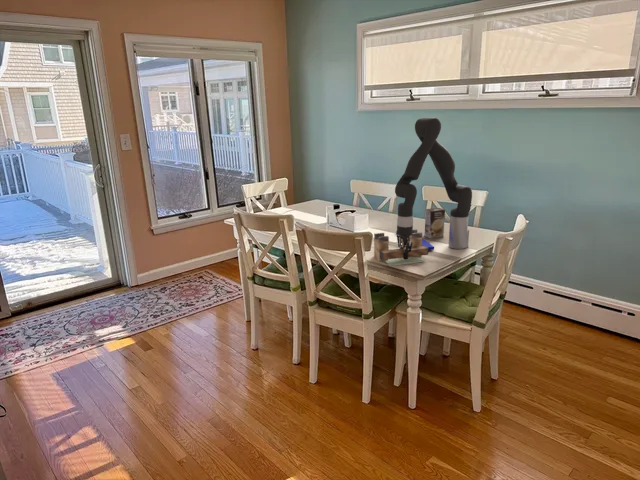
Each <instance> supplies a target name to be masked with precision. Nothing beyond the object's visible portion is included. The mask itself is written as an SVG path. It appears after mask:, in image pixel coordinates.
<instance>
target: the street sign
mask: <svg viewBox="0 0 640 480" xmlns="http://www.w3.org/2000/svg"><path fill="white" fill-rule="evenodd" d="M395 233H396V236H397V235H398V234H397V230H396V232H395ZM422 246H426V247H428V251H434V250H435V246H433V245H432V244H431V243H430V242H428V240H426V239H424V238H423V237H422Z"/></svg>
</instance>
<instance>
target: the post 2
mask: <svg viewBox="0 0 640 480" xmlns="http://www.w3.org/2000/svg"><path fill="white" fill-rule="evenodd" d="M409 237H410V242H412V243H413V244H412V247H421V246H422V238H423V232H422V231H420V232H418V229H413V233H412V234H411V235H410V236H409ZM413 257H419V256H413Z"/></svg>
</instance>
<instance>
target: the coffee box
mask: <svg viewBox="0 0 640 480" xmlns="http://www.w3.org/2000/svg"><path fill="white" fill-rule="evenodd" d="M445 217H446V209H444V208H440V207H434V208H426V209H425V217H424V218H425V219H424V220H425V221H424V237H426V238H428V239H437V238H444V233H445V232H444V231H445Z"/></svg>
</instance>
